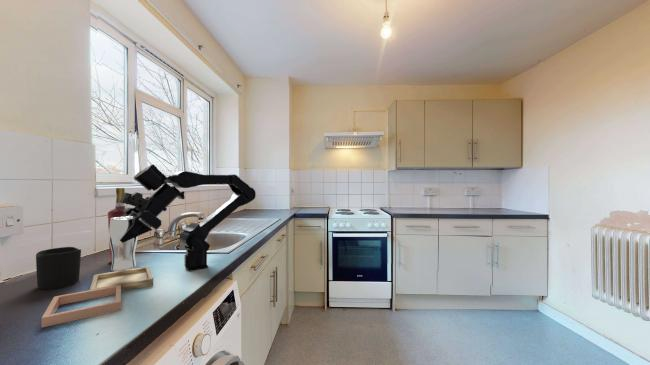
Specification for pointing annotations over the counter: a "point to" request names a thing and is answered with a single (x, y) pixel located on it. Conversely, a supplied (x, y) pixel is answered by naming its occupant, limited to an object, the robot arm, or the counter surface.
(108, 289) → the brown square frame
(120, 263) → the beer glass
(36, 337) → the counter surface
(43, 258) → the pen holder
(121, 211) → the red and white bottle
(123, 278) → the tray
